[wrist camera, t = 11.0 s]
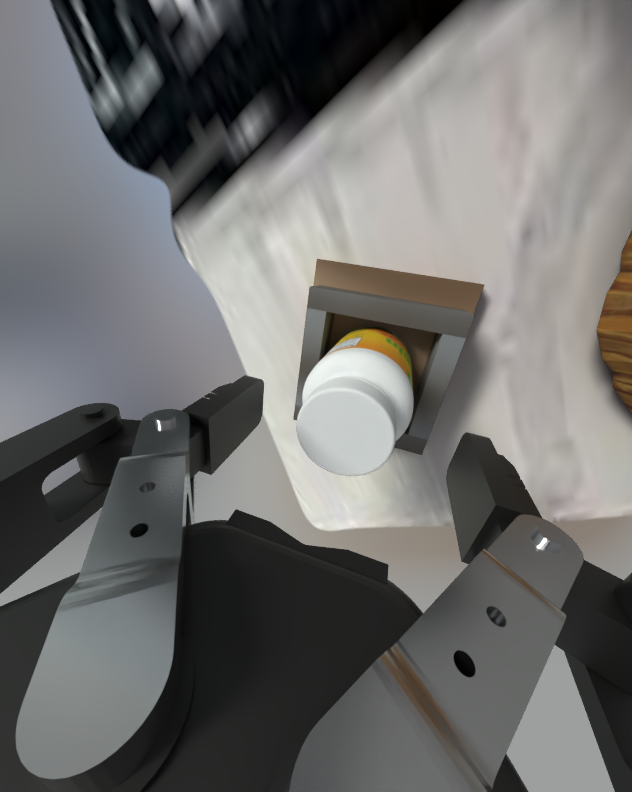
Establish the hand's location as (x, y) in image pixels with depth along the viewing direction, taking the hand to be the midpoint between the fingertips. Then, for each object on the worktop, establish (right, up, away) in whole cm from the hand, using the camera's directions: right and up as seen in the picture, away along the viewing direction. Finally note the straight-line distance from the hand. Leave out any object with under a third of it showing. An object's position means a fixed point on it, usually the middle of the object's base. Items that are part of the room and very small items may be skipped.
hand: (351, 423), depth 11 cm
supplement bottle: (+2, +3, +8) cm, 9 cm away
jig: (+3, +4, +9) cm, 10 cm away
